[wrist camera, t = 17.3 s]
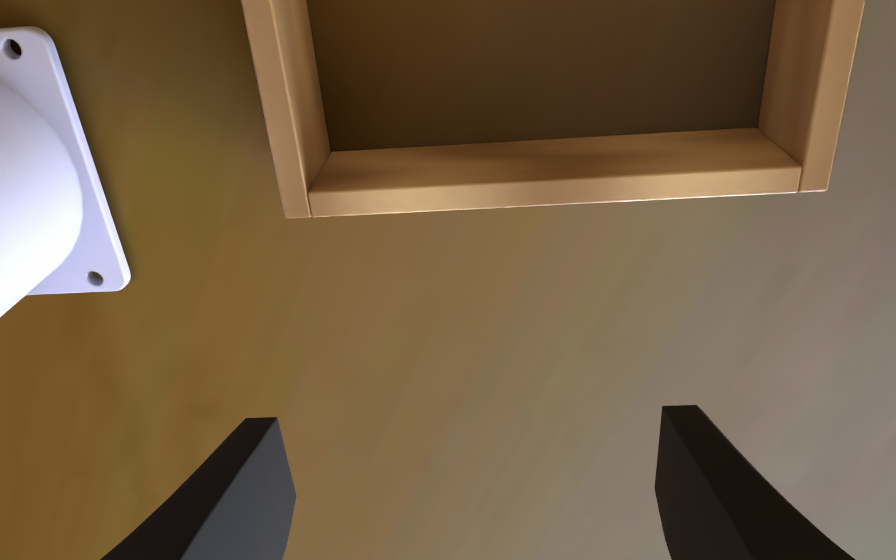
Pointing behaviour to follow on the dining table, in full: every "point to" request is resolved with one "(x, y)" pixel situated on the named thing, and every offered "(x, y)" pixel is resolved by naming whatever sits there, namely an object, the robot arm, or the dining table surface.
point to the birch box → (560, 160)
